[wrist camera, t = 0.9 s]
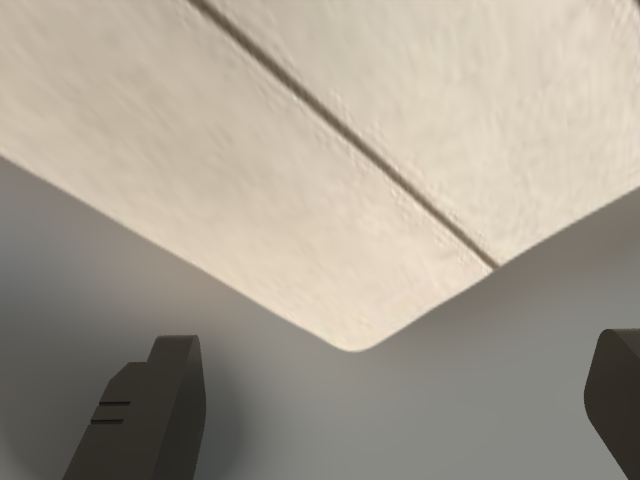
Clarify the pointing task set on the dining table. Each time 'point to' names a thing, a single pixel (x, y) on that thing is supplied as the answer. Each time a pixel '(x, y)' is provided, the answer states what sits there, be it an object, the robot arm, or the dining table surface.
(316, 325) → the dining table surface
